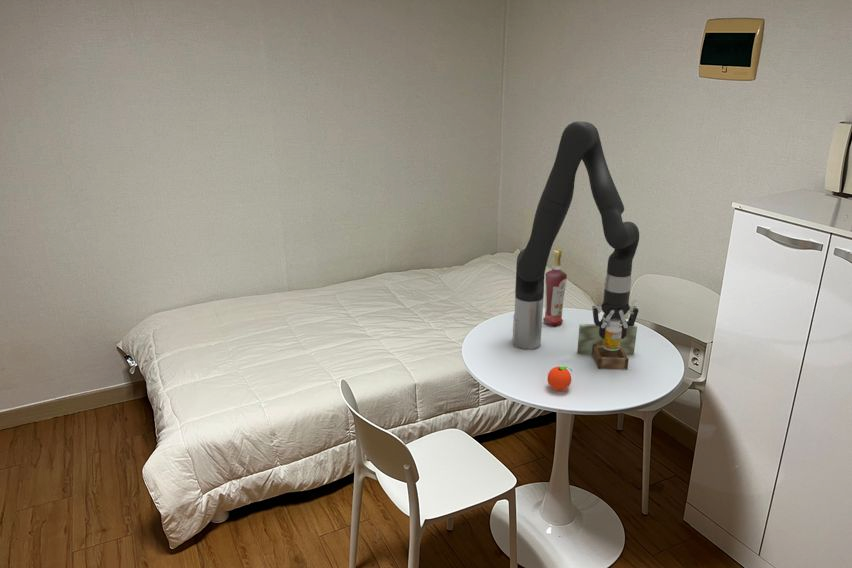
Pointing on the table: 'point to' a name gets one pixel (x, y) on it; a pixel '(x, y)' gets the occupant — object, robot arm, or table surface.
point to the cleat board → (593, 345)
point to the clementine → (559, 378)
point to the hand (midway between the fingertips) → (612, 337)
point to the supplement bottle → (612, 335)
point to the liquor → (555, 291)
